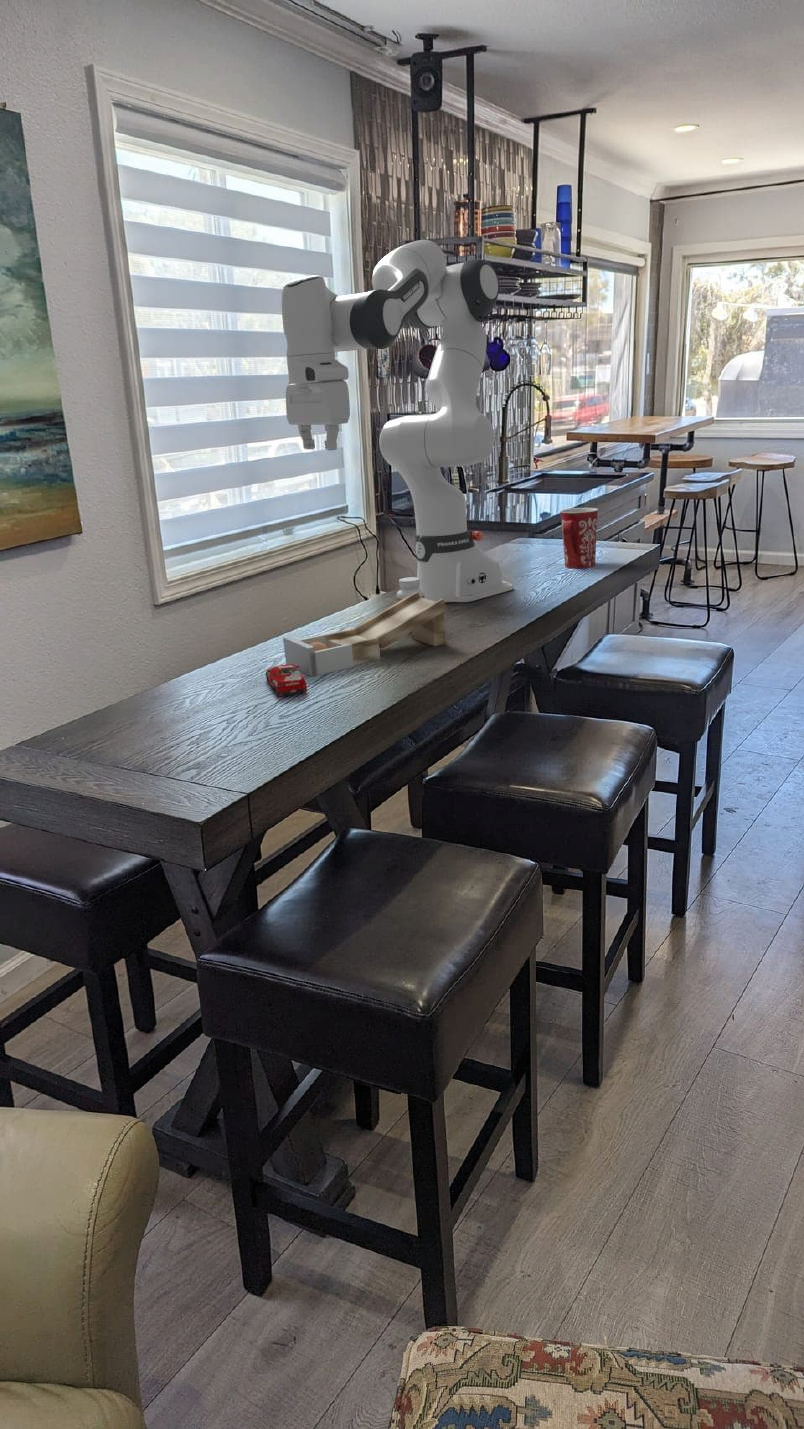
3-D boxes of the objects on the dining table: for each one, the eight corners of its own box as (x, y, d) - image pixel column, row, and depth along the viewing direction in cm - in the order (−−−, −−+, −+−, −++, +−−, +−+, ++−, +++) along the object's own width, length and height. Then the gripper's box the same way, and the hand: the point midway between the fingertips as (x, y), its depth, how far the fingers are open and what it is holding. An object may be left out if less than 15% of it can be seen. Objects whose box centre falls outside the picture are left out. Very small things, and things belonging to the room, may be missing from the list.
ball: (316, 635, 173) (326, 656, 175) (296, 647, 172) (305, 669, 174) (328, 639, 170) (337, 661, 172) (307, 651, 168) (317, 673, 170)
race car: (264, 680, 168) (261, 658, 167) (296, 676, 169) (293, 653, 168) (276, 701, 156) (273, 677, 155) (310, 696, 157) (307, 672, 156)
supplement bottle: (423, 630, 191) (420, 581, 188) (396, 631, 192) (392, 582, 189) (428, 624, 196) (425, 575, 193) (402, 624, 197) (398, 576, 194)
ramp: (422, 634, 188) (419, 590, 185) (449, 643, 180) (446, 598, 177) (327, 655, 179) (322, 610, 176) (351, 666, 171) (346, 618, 168)
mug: (571, 561, 246) (569, 507, 242) (604, 562, 241) (604, 507, 237) (548, 571, 237) (546, 514, 232) (582, 573, 231) (581, 515, 227)
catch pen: (327, 655, 179) (324, 628, 178) (353, 666, 171) (351, 639, 169) (286, 664, 175) (282, 637, 174) (311, 676, 167) (307, 648, 165)
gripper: (274, 375, 187) (282, 450, 192) (320, 370, 170) (328, 452, 175) (304, 373, 190) (311, 447, 195) (352, 368, 173) (360, 449, 178)
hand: (320, 449), depth 185 cm, fingers open, 8 cm apart
